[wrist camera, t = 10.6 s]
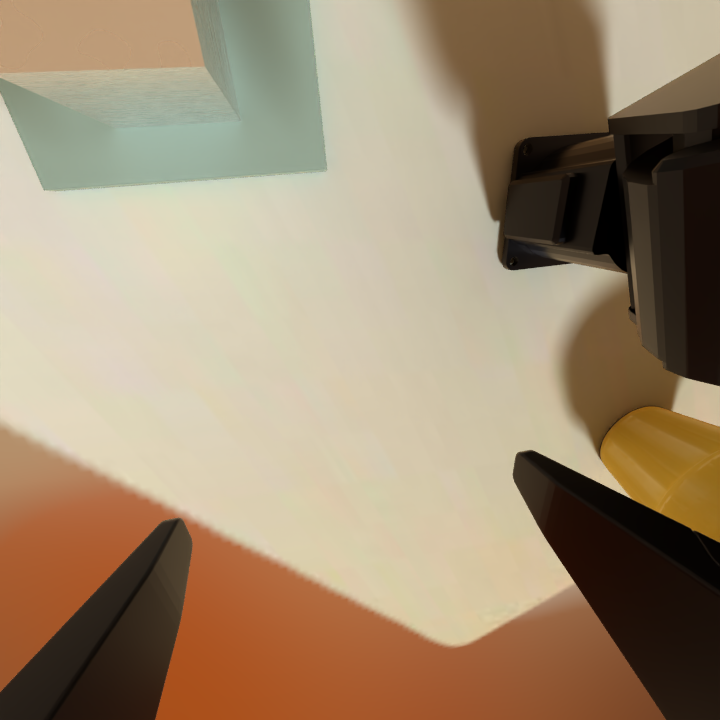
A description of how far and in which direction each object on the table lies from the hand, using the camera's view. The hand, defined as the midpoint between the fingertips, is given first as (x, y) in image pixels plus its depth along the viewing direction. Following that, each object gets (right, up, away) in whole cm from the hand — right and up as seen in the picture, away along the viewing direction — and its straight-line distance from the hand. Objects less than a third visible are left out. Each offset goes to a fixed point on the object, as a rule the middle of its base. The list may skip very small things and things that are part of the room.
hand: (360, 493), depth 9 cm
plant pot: (+24, -3, +20) cm, 31 cm away
